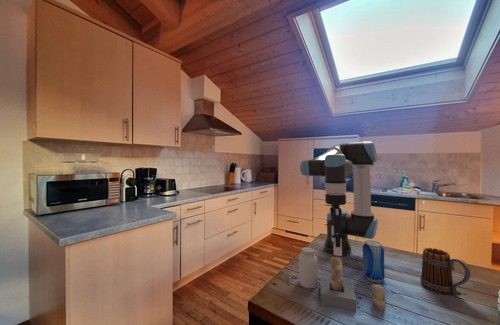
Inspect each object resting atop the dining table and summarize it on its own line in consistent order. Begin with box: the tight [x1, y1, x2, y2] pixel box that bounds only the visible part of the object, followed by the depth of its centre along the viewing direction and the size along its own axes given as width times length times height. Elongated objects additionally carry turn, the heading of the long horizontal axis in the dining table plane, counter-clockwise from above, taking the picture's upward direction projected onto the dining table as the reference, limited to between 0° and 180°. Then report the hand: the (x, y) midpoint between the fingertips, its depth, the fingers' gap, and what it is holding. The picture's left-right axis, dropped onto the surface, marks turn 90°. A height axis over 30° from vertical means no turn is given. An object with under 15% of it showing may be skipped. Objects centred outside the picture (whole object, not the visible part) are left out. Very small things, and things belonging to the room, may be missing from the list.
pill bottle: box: [298, 246, 319, 289], centre depth 91 cm, size 8×8×15 cm
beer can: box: [362, 239, 385, 283], centre depth 95 cm, size 8×8×16 cm
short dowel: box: [371, 284, 386, 312], centre depth 76 cm, size 4×4×7 cm
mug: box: [420, 247, 471, 296], centre depth 85 cm, size 16×11×15 cm
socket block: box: [319, 276, 357, 312], centre depth 82 cm, size 12×12×4 cm
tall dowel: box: [330, 256, 343, 292], centre depth 82 cm, size 4×4×15 cm
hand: (336, 247), depth 82 cm, fingers open, 13 cm apart
